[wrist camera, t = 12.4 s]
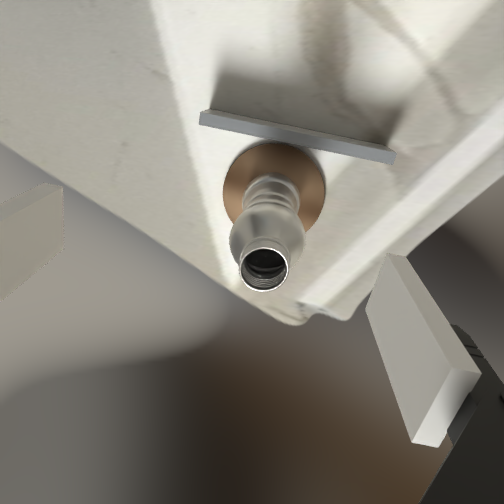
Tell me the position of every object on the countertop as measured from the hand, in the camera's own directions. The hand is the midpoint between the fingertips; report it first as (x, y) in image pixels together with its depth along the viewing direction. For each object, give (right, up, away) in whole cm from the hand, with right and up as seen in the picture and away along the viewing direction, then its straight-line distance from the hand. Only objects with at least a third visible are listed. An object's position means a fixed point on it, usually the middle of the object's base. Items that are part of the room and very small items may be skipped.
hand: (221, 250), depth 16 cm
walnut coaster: (+4, +7, +31) cm, 32 cm away
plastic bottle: (+4, +7, +31) cm, 32 cm away
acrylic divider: (+6, +13, +28) cm, 32 cm away
